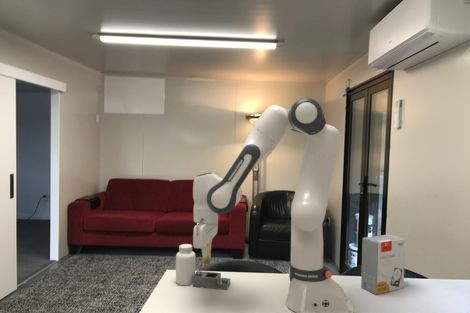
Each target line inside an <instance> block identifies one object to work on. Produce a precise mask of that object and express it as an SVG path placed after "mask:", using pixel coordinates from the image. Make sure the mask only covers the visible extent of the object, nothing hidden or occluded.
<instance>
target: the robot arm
mask: <svg viewBox="0 0 470 313" xmlns="http://www.w3.org/2000/svg"><path fill="white" fill-rule="evenodd" d="M289 131H294V132H297V133H301V134H305V136H306V146H305V150H304V154H303V158H302V162H301V166H300V170H299V174H298V178H297V184H296V188H295V191H294V192H295V193H294V196H293V199H292V201H291V206H290V207H291V208H290V217H291V220H290V222H291V223H290V224H291V225H290V228H291V229H290V263H289V266H288V268H289V269H288V277H289V286H288V288H289V289H288V293H287V298H286V300H285V304H286V306H287V308H288V309H290V310H291V311H293V312H295V313H354V307H353V304H352V303H351V301H350V300H349V299H347V296H346V294H345V291H344V289H343V288H342V286H341V285H340V284H339V283H337V282H336V281H335V280H334V279H333V278H332V277H333V276H332V273H331V271H330V269H329V267H328V266H327V265H324V232H323V222H324V221H325V218H326V217H325V216H326V212H327V207H328V202H329V196H330V191H331V187H332V186H331V185H332V181H333V178H334V173H335V169H336V165H337V160H338V157H339V151H340V145H341V132H340V131H339V129H338V128H336V127H335V126H334V125H330V124H327V120H326V117H325V114H324V111H323V108H322V106H321V104H320V103H319V101H317V100H316V99H314V98H311V97H303V98H299V99H298V100H295V101H294V103H292V105H291V107H290V108H285V107H282V106H281V105H278V104H273V105H270V106H268V107H267V108H265V110H264V111H263V112H262V113H261V114H260V116H259V117H258V118H257V119H256V121H255V123H254V124H253V126H252V127H251V129H250V131H249V132H248V134H247V136H246V138H245V140H244V143H243V145H242V147H241V150H240V152H239V154H238V156H237V157H236V159H235V160H234V162H233V164H231V167H230V168H229V169H228V171H227V173H226V174H225V176H224V177H223V178H222V177H220V176H218V175H216V174H215V173H214V172H211V171H210V172H205V173H202V174H198V175H196V176H195V177H194V179H193V184H192V198H193V202H194V204H193V211H192V212H193V222H194V223H196V225H194V228H193V234H192V244H193V245H192V247H193V248H194V249H200V250H201V255H202V257H203V256H206V255H207V254H208V250H207V244H208V243H209V242H210V251H212V243H213V239H214V237H215V236H216V235H217V234H218V229H219V217H220V215H227V214H228V213H230V212H231V211H233V209H234V208H235V207H236V206H237V205H238V204H239V203H240V202H241V199H242V197H243V190H242V188H241V186H242V185H243V184H244V182H245V181H246V179H247V178H248V176H249V174H250V173H251V172H252V170H254V168H255V167H257V165H259V164H260V163H261V162H263V161H264V160H266V159H267V158H268V157H270V155H271V154H272V153H273V151H275V149H276V148H277V147H278V145H279V143H280V142H281V141H282V139H283V137H284V136H285V135H286V133H288V132H289Z"/></svg>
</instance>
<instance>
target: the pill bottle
mask: <svg viewBox="0 0 470 313" xmlns="http://www.w3.org/2000/svg"><path fill="white" fill-rule="evenodd" d="M195 274H196V253H195V252H194V251H193V245H192V244H191V243H190V244H189V243H183V244H180V245H179V246H178V252H177V253H176V254H175V283H176V285H177V284H178V285H180V286H188V285H193V276H194V275H195Z"/></svg>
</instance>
